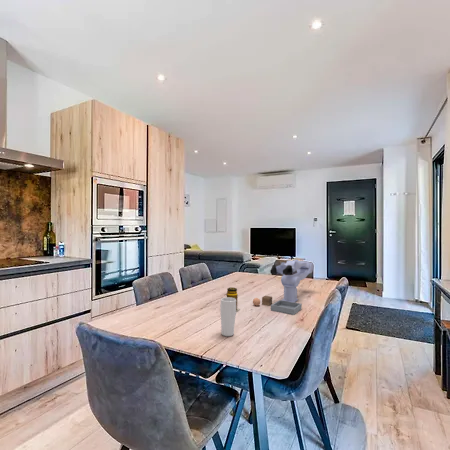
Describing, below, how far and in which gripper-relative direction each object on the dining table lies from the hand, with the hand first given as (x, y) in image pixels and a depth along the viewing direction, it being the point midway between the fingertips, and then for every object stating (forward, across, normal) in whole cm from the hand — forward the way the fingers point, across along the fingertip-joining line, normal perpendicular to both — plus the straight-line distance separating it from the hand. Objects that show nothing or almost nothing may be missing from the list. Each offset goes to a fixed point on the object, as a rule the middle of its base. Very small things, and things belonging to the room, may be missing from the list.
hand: (277, 272), depth 160 cm
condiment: (+20, -20, +18) cm, 34 cm away
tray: (0, +4, +21) cm, 21 cm away
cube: (-2, -9, +20) cm, 22 cm away
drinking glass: (+49, -2, +18) cm, 53 cm away
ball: (+4, -13, +19) cm, 23 cm away
